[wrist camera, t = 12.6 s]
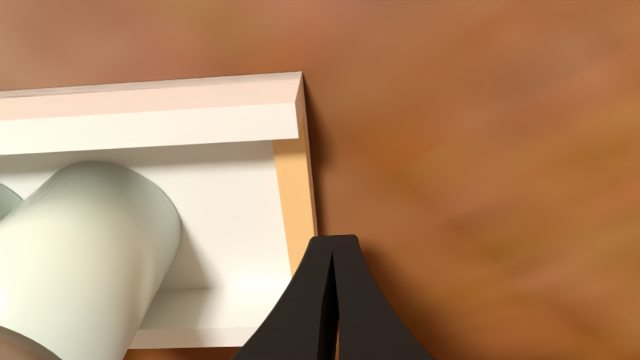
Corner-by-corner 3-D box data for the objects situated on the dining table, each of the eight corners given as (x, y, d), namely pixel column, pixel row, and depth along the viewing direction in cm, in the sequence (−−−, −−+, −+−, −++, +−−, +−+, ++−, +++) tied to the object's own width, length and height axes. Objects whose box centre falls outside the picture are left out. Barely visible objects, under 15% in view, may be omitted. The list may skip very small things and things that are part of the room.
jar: (68, 273, 17) (-80, 463, 11) (19, 161, 15) (-207, 329, 9) (192, 274, 17) (109, 470, 11) (165, 160, 14) (37, 334, 8)
